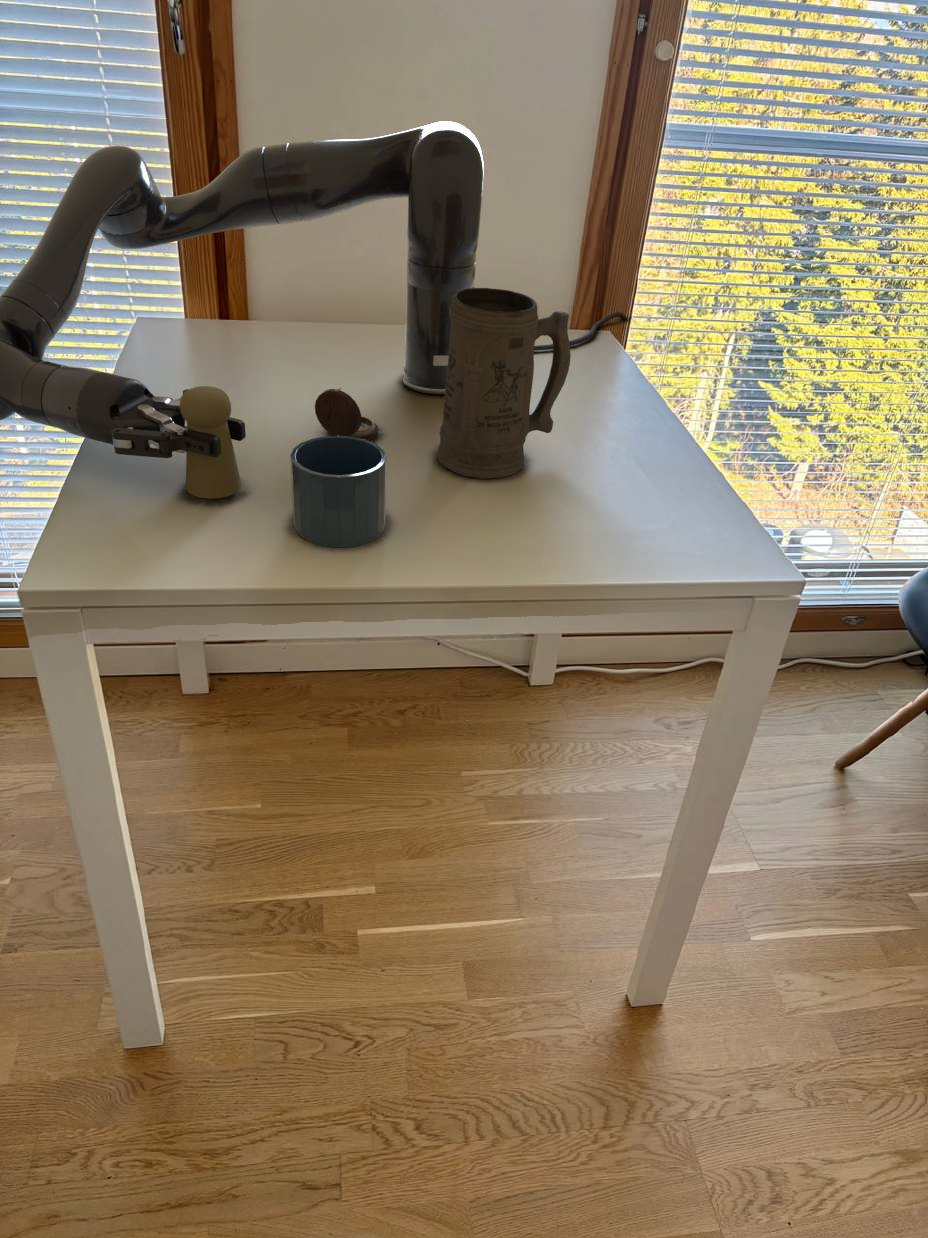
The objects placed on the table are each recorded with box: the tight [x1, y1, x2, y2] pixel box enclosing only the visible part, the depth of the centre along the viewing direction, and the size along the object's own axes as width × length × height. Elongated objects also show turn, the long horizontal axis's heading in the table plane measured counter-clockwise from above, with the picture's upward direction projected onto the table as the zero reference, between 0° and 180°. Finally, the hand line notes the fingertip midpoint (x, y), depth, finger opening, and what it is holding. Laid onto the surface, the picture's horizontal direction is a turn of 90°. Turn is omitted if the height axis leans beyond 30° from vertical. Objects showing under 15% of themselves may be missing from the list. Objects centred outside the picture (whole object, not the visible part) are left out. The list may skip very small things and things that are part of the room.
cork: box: [180, 385, 243, 499], centre depth 97 cm, size 6×6×11 cm
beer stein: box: [437, 287, 572, 479], centre depth 107 cm, size 15×11×20 cm
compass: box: [314, 387, 379, 441], centre depth 113 cm, size 8×8×7 cm
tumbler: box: [289, 435, 388, 548], centre depth 94 cm, size 10×10×8 cm
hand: (230, 438), depth 96 cm, fingers closed on cork, 4 cm apart
